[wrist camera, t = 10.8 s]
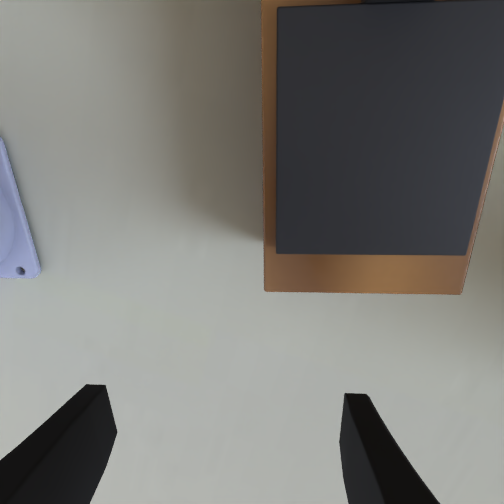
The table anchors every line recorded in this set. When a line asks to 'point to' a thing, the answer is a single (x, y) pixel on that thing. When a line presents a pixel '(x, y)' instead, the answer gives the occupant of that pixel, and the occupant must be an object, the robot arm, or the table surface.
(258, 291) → the table surface
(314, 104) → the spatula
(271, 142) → the wooden box
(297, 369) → the table surface
